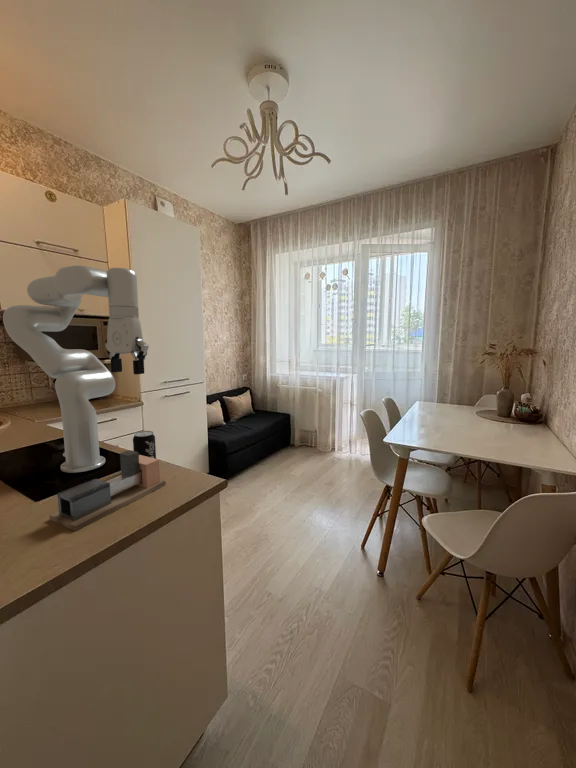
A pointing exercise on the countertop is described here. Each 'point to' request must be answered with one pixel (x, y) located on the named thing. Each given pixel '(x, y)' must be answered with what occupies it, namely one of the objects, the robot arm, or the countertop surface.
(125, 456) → the slide bolt
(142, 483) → the socket block
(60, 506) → the sleeve
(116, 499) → the base board
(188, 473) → the countertop surface
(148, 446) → the beverage can
